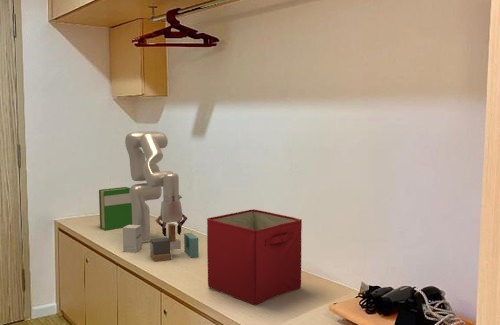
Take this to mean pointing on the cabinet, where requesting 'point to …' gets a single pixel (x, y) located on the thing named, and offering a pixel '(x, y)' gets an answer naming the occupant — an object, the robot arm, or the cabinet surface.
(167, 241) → the grey block with backplate
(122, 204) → the hardback book
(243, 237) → the storage cube
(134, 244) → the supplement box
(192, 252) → the socket
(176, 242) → the multicoloured piece
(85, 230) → the cabinet surface
